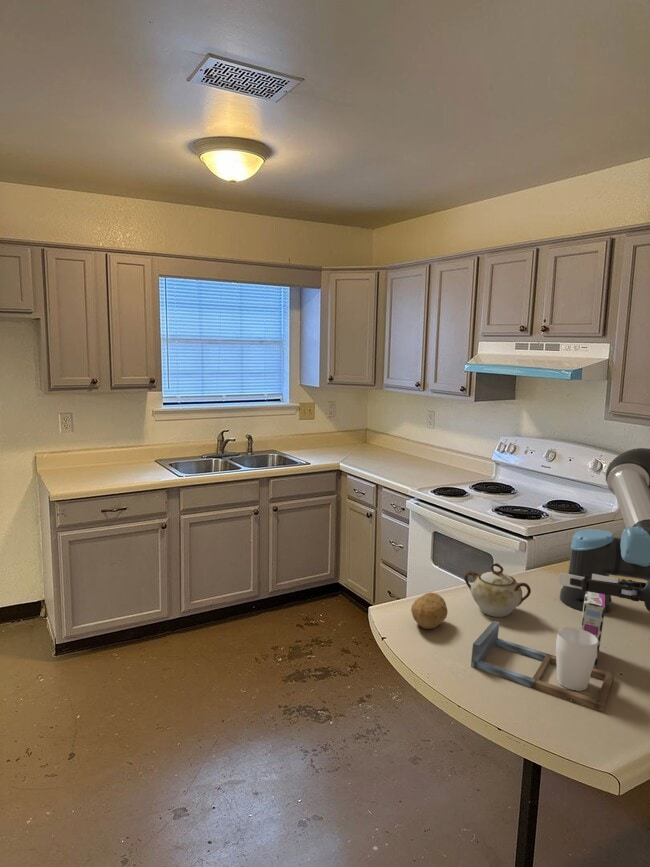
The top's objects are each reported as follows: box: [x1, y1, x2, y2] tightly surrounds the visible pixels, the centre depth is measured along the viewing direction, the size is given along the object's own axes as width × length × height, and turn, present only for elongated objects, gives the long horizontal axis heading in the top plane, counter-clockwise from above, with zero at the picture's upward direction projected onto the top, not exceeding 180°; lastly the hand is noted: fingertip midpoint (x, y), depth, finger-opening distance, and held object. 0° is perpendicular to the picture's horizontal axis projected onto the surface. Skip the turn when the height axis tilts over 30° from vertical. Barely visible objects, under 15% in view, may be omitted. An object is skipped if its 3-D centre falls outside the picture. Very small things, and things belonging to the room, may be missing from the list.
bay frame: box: [470, 620, 615, 713], centre depth 144 cm, size 30×16×6 cm, turn 56°
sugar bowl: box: [464, 562, 532, 618], centre depth 177 cm, size 20×15×15 cm
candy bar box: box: [579, 591, 606, 669], centre depth 153 cm, size 11×5×16 cm, turn 155°
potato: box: [410, 592, 449, 630], centre depth 166 cm, size 10×14×8 cm
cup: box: [555, 626, 598, 692], centre depth 140 cm, size 9×9×12 cm
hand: (576, 578), depth 141 cm, fingers open, 13 cm apart
